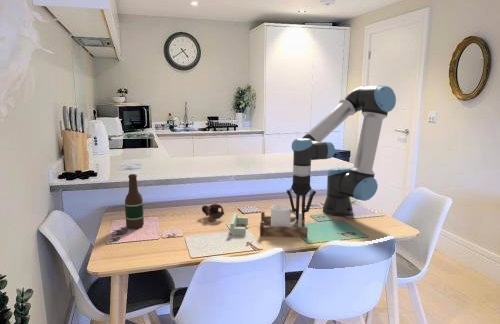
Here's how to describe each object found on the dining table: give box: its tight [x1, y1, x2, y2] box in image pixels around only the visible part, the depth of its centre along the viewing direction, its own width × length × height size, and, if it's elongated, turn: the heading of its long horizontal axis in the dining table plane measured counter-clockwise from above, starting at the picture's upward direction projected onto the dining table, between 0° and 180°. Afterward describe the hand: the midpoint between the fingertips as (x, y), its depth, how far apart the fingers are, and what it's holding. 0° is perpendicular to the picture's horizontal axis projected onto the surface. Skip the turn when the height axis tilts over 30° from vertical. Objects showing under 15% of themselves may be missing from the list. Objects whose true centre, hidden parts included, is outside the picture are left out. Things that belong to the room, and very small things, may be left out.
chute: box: [259, 210, 309, 238], centre depth 159 cm, size 20×15×6 cm
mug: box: [270, 204, 296, 227], centre depth 159 cm, size 9×12×11 cm
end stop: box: [229, 212, 249, 236], centre depth 160 cm, size 6×15×5 cm, turn 176°
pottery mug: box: [201, 203, 225, 222], centre depth 173 cm, size 12×10×8 cm
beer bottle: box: [124, 173, 145, 230], centre depth 160 cm, size 8×8×24 cm
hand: (299, 226), depth 158 cm, fingers closed
